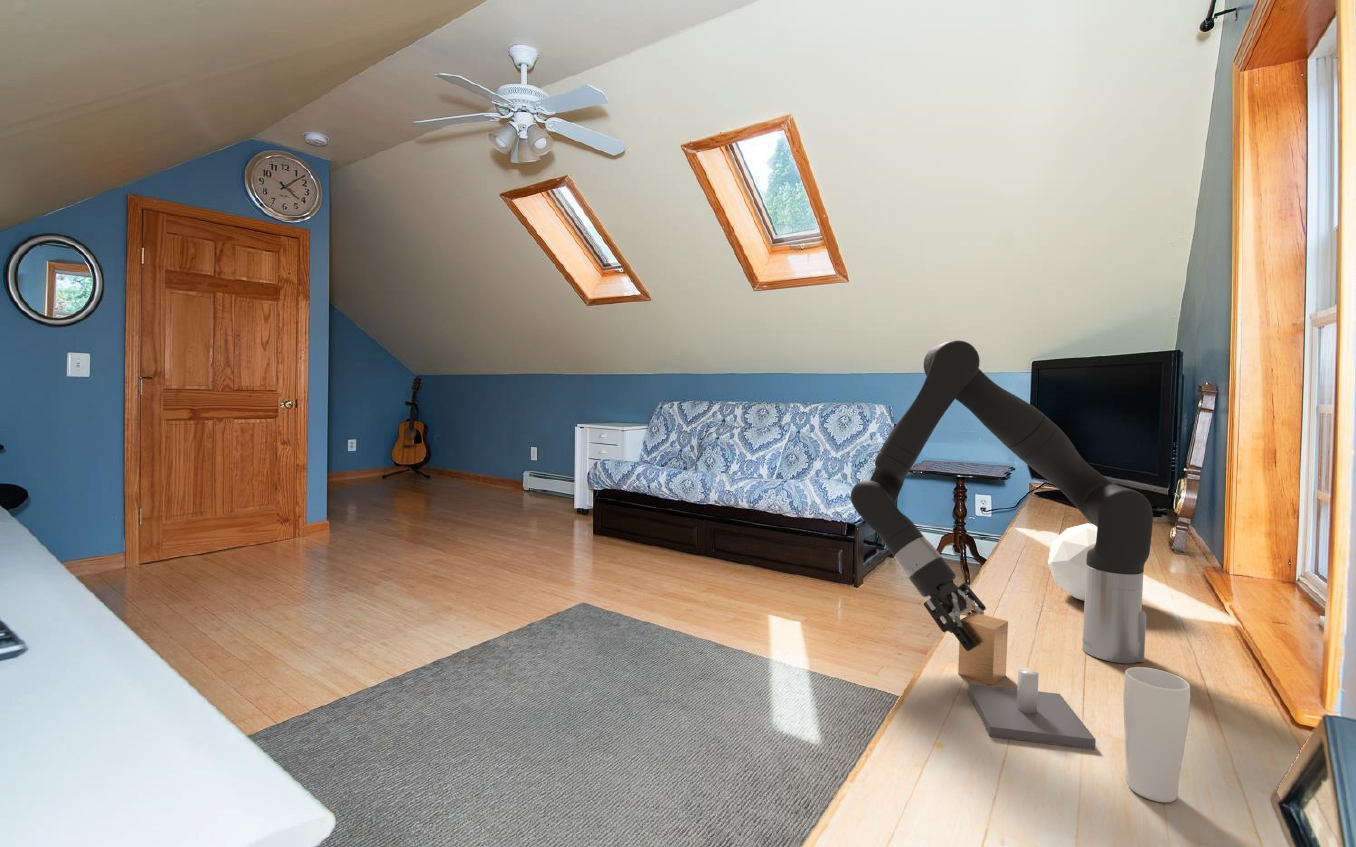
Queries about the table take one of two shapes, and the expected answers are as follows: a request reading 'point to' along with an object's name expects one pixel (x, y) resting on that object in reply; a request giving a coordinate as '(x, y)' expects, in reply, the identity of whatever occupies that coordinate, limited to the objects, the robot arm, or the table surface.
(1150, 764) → the drinking glass
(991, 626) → the wooden block
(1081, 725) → the post base
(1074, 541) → the geometric orb
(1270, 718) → the table surface
